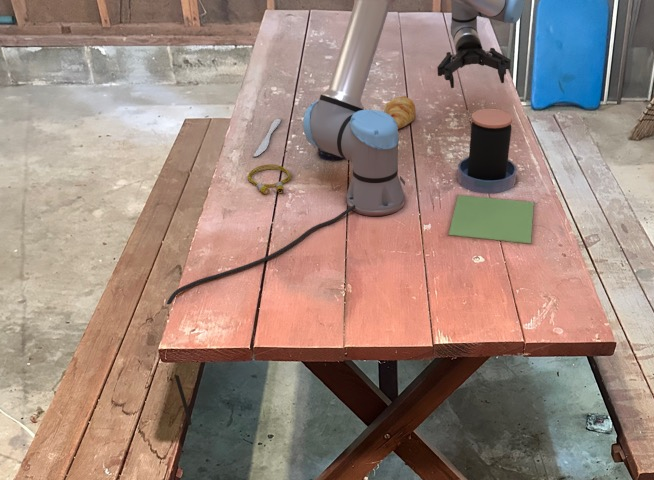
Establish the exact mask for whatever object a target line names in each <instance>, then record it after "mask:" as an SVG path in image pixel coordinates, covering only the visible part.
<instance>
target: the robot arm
mask: <svg viewBox="0 0 654 480" xmlns="http://www.w3.org/2000/svg"><path fill="white" fill-rule="evenodd" d="M398 1H399V0H354V3H353V7H352V10H351V12H350V13H351V14H350V17H349V20H348V23H347V26H346V30H345V33H344V36H343V40H342V42H341V47H340V49H339V53H338V55H337V56H338V57H337V60H336V63H335V66H334V70H333V73H332V77H331V80H330V84H329V86H328V88H327V90H324V91H322V92H321V93H320V95H319V99H318V100H315V101H313V102H312V103H311V104H310V105H309V106H308V107H307V108H306V110H305V111H304V115H303V120H302V131H303V134H304V136H305V139H306V141H307V142H308V143H309V144H310V145H311V146H313V147H314V148H317V149H318V148H319V149H320V150H322V151H325V152H329V153H332V154H334V155H337V156H340V157H342V158H345V160H348V161H351V168H352V176H351V179H350V183H349V186H348V189H347V192H346V198H345V199H346V205H347V207H348V208H347V209H345V210H344V211H342V212H341V213H340V214H338V215H337V216H335V217H334V218H332V219H329V220H327V221H323V222H321V223H319V224H316V225H314V226H312V227H310V228H308V229H307V230H306V231H305V232H303V233H302V234H301V235H300V236H298V237H297V238H296V239H294V240H292V242H290V243H288V244H287V245H285V246H284V247H282V248H280V249H278V250H276V251H274V252H273V253H270V254H269V255H267V256H264V257H262V258H260V259H257V260H255V261H252V262H249V263H246V264H244V265H241V266H238V267H235V268H232V269H229V270H226V271H223V272H219V273H217V274H213V275H209V276H206V277H203V278H200V279H197V280H194V281H192V282H190V283H188V284H186V285H183V286H180V287H178V288H177V289H176V290H174V291H173V292H172V294H171V295H169V298H168V300H167V302H166V305H171V304H172V303H173V301H174V299H175V298H176V297H177V296H178V295H179V294H180V293H182V292H184V291H186V290H188V289H191V288H193V287H194V286H197V285H199V284H203V283H206V282H208V281H212V280H216V279H219V278H222V277H225V276H228V275H231V274H234V273H239V272H241V271H244V270H247V269H250V268H252V267H255V266H257V265H260V264H262V263H264V262H267V261H268V260H270V259H273V258H275V257H276V256H279V255H281V254H282V253H284V252H286V251H287V250H289V249H290V248H292V247H294V246H295V245H298V243H299V242H301V241H302V240H303V239H305V238H306V237H307V236H308V235H309V234H311V233H312V232H314V231H316V230H318V229H320V228H322V227H323V228H324V227H325V226H328V225H331V224H332V223H335V222H337V221H339V220H340V219H342V218H343V217H344V216H346V215H348V214H349V213H350V212H354V213H356V214H358V215H362V216H367V217H383V216H389V215H392V214H394V213H396V212H398V211H400V210H401V209H402V208H403V207H404V205H405V192H404V190H403V187H402V184H403V185H404V186H406V181H405V180H404V179H403V177H402V176H401V175H398V172H399V169H398V168H399V140H400V138H399V130H398V126H397V123H396V121H395V120H394V118H393V117H391V116H390V115H389V114H387V113H385V112H384V111H381V110H379V109H373V110H371V109H365V107H364V105H363V103H362V98H363V97H362V96H363V94H364V90H365V87H366V84H367V81H368V77H369V74H370V71H371V68H372V65H373V62H374V59H375V55H376V52H377V48H378V46H379V42H380V38H381V36H382V32H383V30H384V26H385V23H386V20H387V16H388V14H389V10H390V8H391V6H392V5H394V4H395V3H398ZM524 6H525V5H524V0H450V8H451V9H450V10H451V19H450V20H451V22H450V35H451V37H452V42H453V45H454V50H455V54H452V53H451V52H450V51H447V52H446V56H445V57H444V58H443V59H442V60H441V61H440V63H439V64H438V65H437V76H438V77H442V76H443V77H444V80H445V81H449V84H450V85H449V86H450V89H454V88H455V78H454V72H456V71H457V70H459V69H460V68H461V69H463V68H464V67H465V66H470V65H479V66H481V67H484V66H487V67H490V68H492V69H494V70H497V74H498V77H499V81H500V83H501V84H504V83H505V76H506V75H507V70H510V69H511V62H512V61H511V59H510V58H509V57H507V56H505V55H504V54H502V53H500V52H499V51H497V50H496V48H495V47H490V48H489V50H487V51H486V50H485V49H484V48H483V45H482V42H481V39H480V36H479V33H478V18H483V19H488V20H492V21H497V22H500V23H501V22H502V23H504V24H516V23H517V22H518V21H519V20H520V19H521V16H522V14H523V11H524ZM401 183H402V184H401ZM174 379H175V382H176V385H177V389H178V392H179V395H180V399H181V402H182V406H183V409H184V413H185V417H186V422H187V426H191V425H192V420H191V415H190V410H189V408H188V403H187V400H186V397H185V393H184V390H183V386H182V383H181V379H180V376H179V375H177V374H174Z"/></svg>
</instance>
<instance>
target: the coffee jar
mask: <svg viewBox="0 0 654 480" xmlns="http://www.w3.org/2000/svg"><path fill="white" fill-rule="evenodd" d="M471 121H472V122H471V125H470V126H471V127H470V138H469V150H468V151H469V152H468V157H469V163H468V176H470V177H472V178H475V179H480V180H501V179H504V178H505V177H506V172H507V163H508V160H509V154H510V147H511V146H510V145H511V137H512V123H513V115H512V114H511V113H510V112H508V111H505V110H502V109H497V108H485V109H484V108H483V109H479V110H477V111H475V112H473V113H472V114H471Z"/></svg>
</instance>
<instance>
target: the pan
mask: <svg viewBox="0 0 654 480" xmlns="http://www.w3.org/2000/svg"><path fill="white" fill-rule="evenodd" d="M468 163H469V156H467V157H464V158H463V159H461V160H460V162H458V165H457V182H458V183H459V184H460V186H462V187H463V188H465V189H467V190H469V191H472V192H476V193H480V194H497V193H503V192H506V191H508V190H510V189H512V188H513V187H514V185H515V184H516V182H517V173H518V168H517V165H516V164H515V163H514V162H513V161H512V160H509V159H508V163H507V172H506V177H505V178H504V179H501V180H480V179H475V178H472V177H470V176H468Z"/></svg>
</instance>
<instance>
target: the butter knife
mask: <svg viewBox="0 0 654 480" xmlns="http://www.w3.org/2000/svg"><path fill="white" fill-rule="evenodd" d="M281 122H282V119H281V118H275V119H274V120H273V121H272V123H271V125H270V126H269V130H268V131H267V134H266V135H265V137H264V138H263V139H262V141H261V142H260V144H259V146H258V148H257V149H256V151H255V152H254V153H253V157H258V156H260V155H262V154H263V152H265V151H266V150H267V148H268V146H269V144H270V139H271V136H272V134H273V133H274V131H275V130H276V129H277V128H278V127H279V126H280V124H281Z"/></svg>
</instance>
